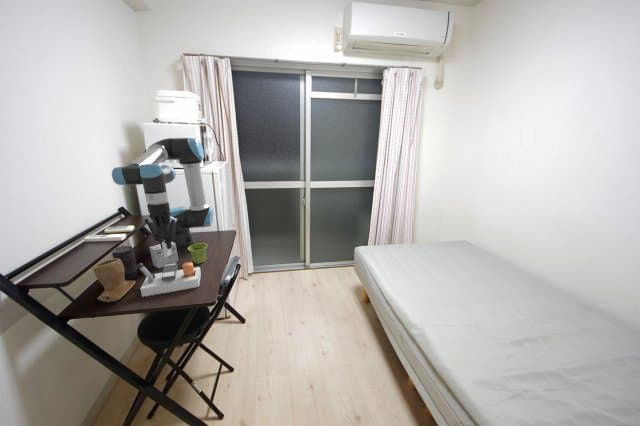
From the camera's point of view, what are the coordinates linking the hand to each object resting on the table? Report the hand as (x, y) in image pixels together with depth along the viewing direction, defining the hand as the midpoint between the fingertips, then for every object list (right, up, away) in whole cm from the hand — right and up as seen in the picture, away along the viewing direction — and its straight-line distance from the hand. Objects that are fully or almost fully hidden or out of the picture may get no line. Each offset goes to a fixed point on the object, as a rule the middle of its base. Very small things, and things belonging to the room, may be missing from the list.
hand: (168, 255), depth 110 cm
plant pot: (0, -8, +29) cm, 30 cm away
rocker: (-2, -8, +5) cm, 10 cm away
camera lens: (-27, -13, +14) cm, 33 cm away
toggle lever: (-9, -11, +3) cm, 15 cm away
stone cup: (-23, -17, +1) cm, 29 cm away
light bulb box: (-17, -9, +27) cm, 34 cm away
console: (-2, -15, +7) cm, 17 cm away
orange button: (+5, -11, +9) cm, 15 cm away
